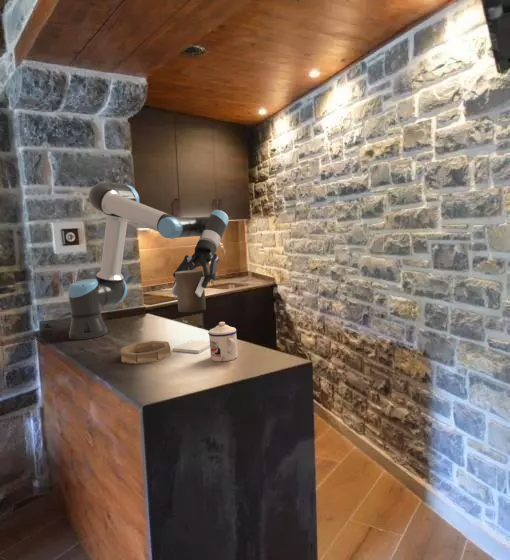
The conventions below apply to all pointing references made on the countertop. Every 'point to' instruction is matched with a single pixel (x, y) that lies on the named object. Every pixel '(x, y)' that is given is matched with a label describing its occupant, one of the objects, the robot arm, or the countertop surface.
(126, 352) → the holder ring
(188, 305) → the pillar candle
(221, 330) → the teacup with lid
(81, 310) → the robot arm
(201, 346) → the coaster
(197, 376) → the countertop surface
